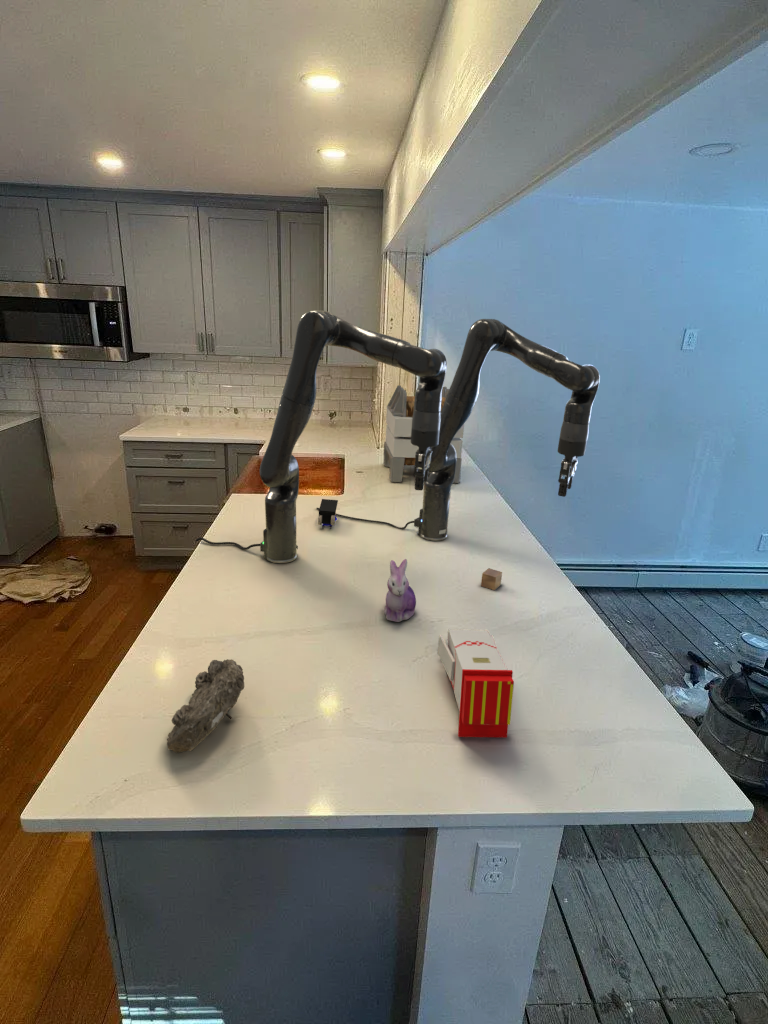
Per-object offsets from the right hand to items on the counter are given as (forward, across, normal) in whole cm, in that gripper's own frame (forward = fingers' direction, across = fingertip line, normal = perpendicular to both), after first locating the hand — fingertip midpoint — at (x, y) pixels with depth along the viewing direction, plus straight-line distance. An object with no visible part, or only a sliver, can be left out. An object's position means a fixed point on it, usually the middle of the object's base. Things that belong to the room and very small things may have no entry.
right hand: (564, 492), depth 166 cm
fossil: (+26, +100, -45) cm, 113 cm away
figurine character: (+27, +2, -80) cm, 84 cm away
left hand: (-3, +27, -34) cm, 44 cm away
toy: (+26, +68, -4) cm, 73 cm away
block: (+26, +18, -14) cm, 35 cm away
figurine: (+26, +47, -30) cm, 61 cm away
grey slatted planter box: (+27, -81, -78) cm, 116 cm away
